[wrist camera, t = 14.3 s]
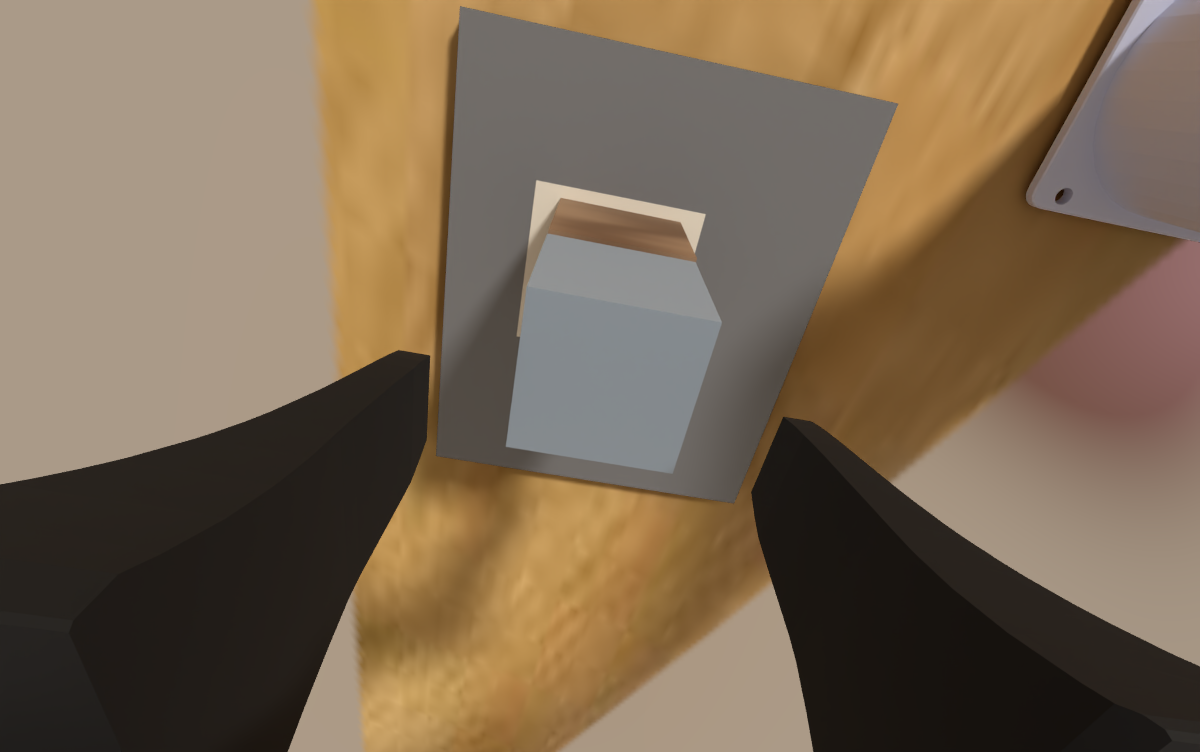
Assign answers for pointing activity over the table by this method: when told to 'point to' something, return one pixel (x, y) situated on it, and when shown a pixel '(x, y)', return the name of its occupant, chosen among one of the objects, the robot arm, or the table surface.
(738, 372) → the baseplate
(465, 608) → the table surface
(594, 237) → the walnut block
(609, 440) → the slate block
